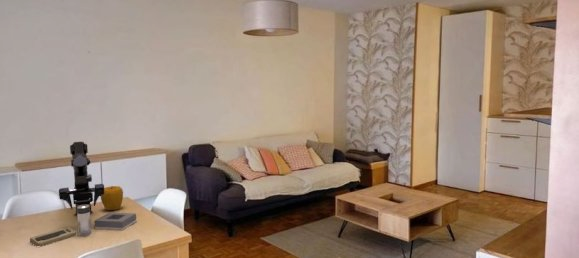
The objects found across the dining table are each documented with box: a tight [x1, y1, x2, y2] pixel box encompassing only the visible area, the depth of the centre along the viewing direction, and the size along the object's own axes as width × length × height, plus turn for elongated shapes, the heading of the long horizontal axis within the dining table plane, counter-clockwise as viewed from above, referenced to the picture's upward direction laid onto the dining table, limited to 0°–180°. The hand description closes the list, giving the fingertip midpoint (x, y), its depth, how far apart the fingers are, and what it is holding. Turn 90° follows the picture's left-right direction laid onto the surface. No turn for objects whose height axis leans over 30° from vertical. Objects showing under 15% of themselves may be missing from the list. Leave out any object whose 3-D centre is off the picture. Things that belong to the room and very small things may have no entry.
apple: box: [100, 185, 124, 211], centre depth 219 cm, size 11×11×13 cm
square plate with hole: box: [93, 212, 137, 231], centre depth 195 cm, size 14×12×4 cm
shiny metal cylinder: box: [76, 204, 92, 237], centre depth 182 cm, size 5×5×13 cm
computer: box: [29, 226, 77, 247], centre depth 178 cm, size 16×8×3 cm, turn 145°
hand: (83, 207), depth 186 cm, fingers open, 9 cm apart
